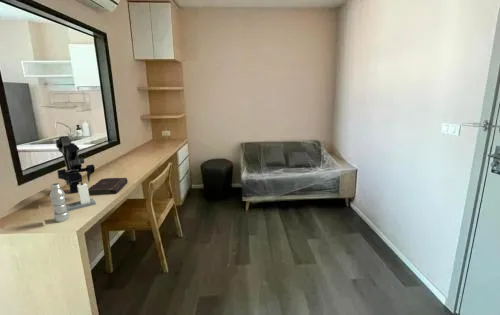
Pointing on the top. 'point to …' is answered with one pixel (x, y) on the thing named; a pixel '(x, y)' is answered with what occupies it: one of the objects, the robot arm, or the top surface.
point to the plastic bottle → (58, 203)
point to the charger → (83, 193)
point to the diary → (108, 186)
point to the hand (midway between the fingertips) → (80, 183)
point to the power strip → (77, 205)
